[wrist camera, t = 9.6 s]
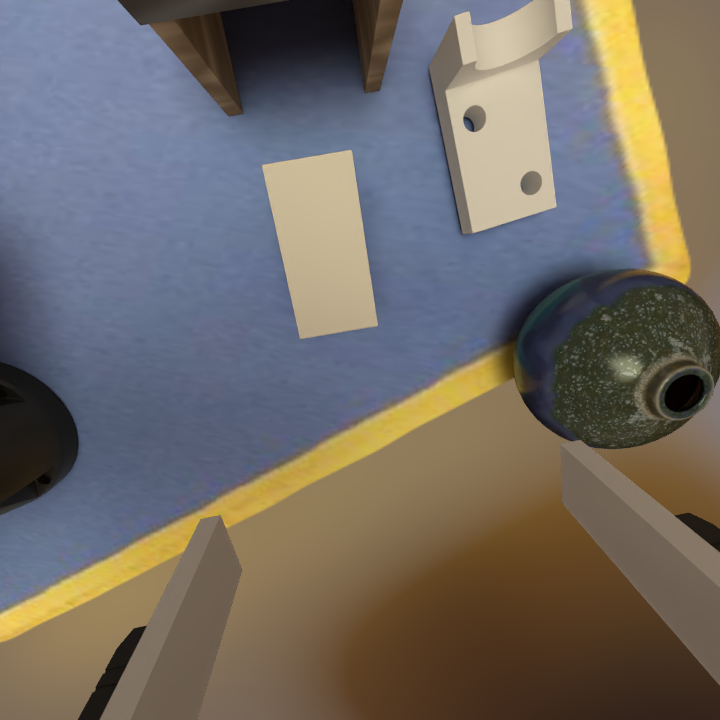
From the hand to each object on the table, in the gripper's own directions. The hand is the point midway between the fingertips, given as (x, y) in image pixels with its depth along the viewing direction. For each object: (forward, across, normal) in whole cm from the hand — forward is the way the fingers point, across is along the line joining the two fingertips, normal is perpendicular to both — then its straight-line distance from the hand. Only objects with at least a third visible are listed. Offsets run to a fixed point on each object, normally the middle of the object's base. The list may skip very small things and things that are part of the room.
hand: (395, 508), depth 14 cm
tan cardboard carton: (+23, -1, +10) cm, 25 cm away
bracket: (+24, +14, +15) cm, 31 cm away
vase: (+23, +21, -4) cm, 31 cm away
